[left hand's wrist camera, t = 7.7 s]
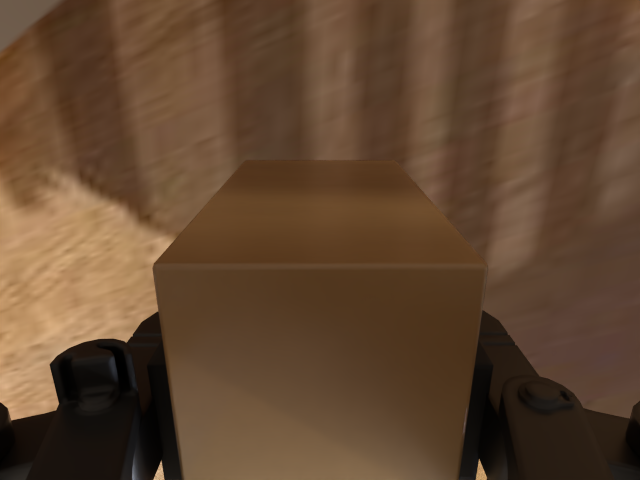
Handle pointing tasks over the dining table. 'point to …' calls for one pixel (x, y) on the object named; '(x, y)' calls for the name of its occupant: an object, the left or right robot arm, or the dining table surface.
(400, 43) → the dining table surface
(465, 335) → the bar
